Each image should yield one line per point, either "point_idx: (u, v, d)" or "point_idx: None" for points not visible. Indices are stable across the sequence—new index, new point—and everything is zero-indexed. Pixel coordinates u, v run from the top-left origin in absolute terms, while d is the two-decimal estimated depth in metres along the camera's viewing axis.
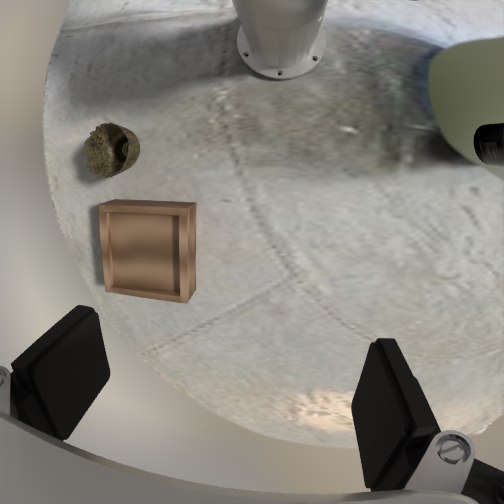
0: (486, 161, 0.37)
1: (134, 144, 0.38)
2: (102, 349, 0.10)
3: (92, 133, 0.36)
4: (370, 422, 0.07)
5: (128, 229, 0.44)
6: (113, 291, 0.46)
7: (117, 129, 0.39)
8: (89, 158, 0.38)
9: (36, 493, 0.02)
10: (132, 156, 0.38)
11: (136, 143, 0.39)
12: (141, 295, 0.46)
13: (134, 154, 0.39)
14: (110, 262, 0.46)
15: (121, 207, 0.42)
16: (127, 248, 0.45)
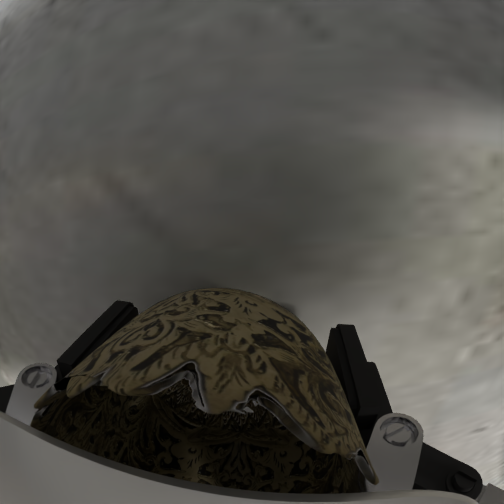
0: None
1: None
2: None
3: (53, 398, 0.04)
4: None
5: None
6: None
7: None
8: None
9: (36, 493, 0.02)
10: None
11: None
12: None
13: None
14: None
15: None
16: None
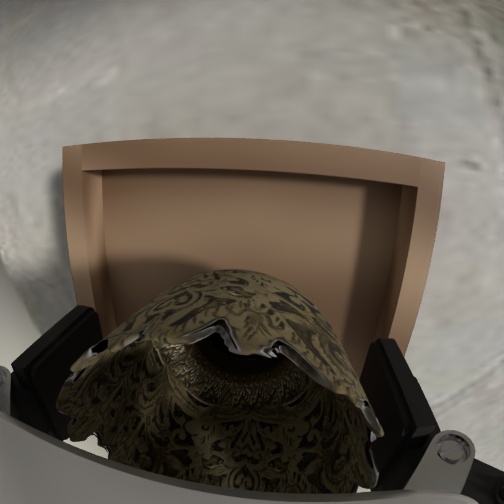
0: None
1: None
2: None
3: (88, 362, 0.05)
4: None
5: (173, 240, 0.12)
6: None
7: None
8: (104, 438, 0.07)
9: (36, 493, 0.02)
10: None
11: None
12: None
13: None
14: None
15: (153, 147, 0.10)
16: None
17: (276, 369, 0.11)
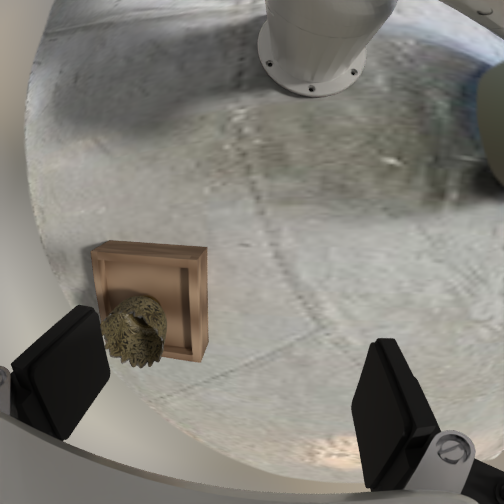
0: None
1: (165, 333, 0.33)
2: (102, 349, 0.10)
3: (109, 316, 0.30)
4: (370, 422, 0.07)
5: (127, 279, 0.37)
6: None
7: None
8: (106, 336, 0.32)
9: (36, 493, 0.02)
10: (163, 347, 0.33)
11: (166, 327, 0.34)
12: None
13: (164, 341, 0.33)
14: None
15: (118, 255, 0.35)
16: None
17: None
